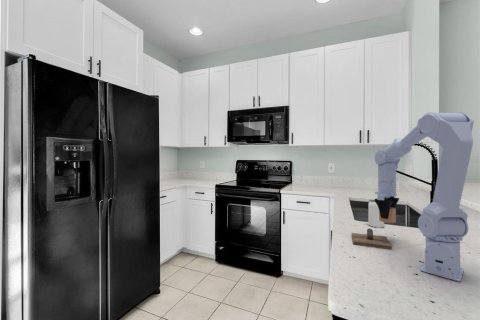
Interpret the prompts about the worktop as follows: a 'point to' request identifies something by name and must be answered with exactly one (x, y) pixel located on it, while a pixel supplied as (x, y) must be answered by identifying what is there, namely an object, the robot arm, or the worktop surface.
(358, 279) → the worktop surface
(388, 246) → the holder
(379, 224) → the can
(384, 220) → the tube
